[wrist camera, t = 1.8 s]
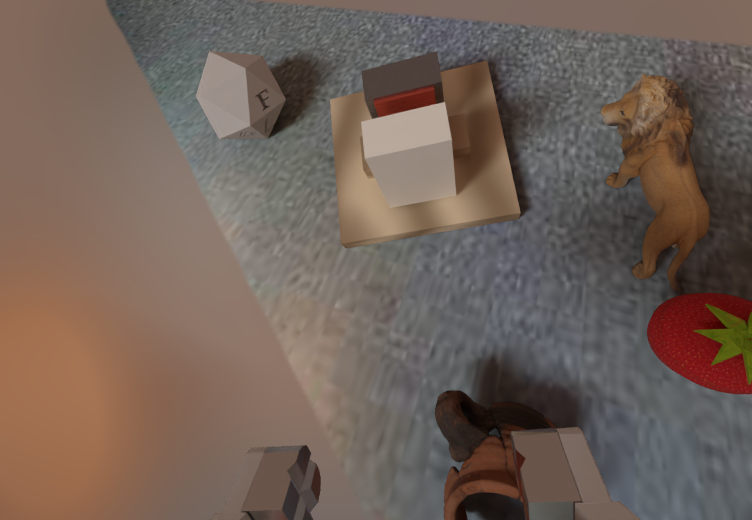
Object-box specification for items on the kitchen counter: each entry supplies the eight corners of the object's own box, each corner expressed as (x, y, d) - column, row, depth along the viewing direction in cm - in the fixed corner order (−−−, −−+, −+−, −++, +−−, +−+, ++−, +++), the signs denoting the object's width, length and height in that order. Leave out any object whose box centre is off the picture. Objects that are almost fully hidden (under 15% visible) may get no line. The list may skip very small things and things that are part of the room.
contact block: (441, 98, 37) (436, 51, 32) (447, 129, 36) (442, 85, 31) (377, 114, 39) (361, 71, 33) (381, 143, 38) (365, 104, 32)
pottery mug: (602, 459, 29) (625, 566, 21) (505, 507, 33) (495, 610, 25) (485, 341, 30) (468, 403, 22) (406, 401, 34) (369, 470, 27)
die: (238, 170, 43) (247, 127, 35) (179, 111, 42) (173, 52, 33) (288, 130, 47) (308, 82, 38) (235, 75, 46) (243, 12, 37)
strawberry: (630, 292, 31) (701, 260, 21) (743, 326, 28) (879, 307, 19) (610, 363, 30) (675, 363, 20) (725, 405, 27) (859, 426, 18)
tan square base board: (486, 71, 39) (487, 44, 35) (518, 219, 34) (523, 203, 31) (334, 108, 42) (323, 86, 38) (346, 248, 37) (333, 237, 34)
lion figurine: (572, 147, 35) (605, 77, 26) (634, 127, 34) (689, 48, 25) (643, 304, 30) (711, 280, 22) (717, 285, 29) (817, 254, 21)
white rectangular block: (451, 165, 35) (445, 102, 26) (456, 195, 34) (451, 139, 26) (386, 178, 36) (361, 121, 28) (390, 208, 35) (364, 158, 27)
